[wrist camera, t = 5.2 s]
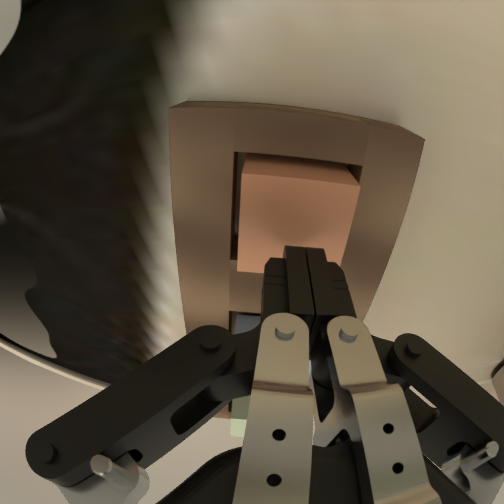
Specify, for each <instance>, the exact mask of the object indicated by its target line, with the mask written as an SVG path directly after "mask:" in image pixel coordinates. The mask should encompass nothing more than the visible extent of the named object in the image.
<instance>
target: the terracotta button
mask: <svg viewBox="0 0 504 504" xmlns="http://www.w3.org/2000/svg"><path fill="white" fill-rule="evenodd" d="M360 187H361V186H360V185H359V183H358V182H357V181H356V179H355V178H354V177H353V175H352V174H351V173H350V171H349V170H348V169H347V167H346V166H345V165H344V163H337V162H330V161H323V160H315V159H307V158H298V157H289V156H279V155H268V154H256V153H247V154H246V158H245V162H244V166H243V170H242V178H241V197H240V217H239V238H238V260H237V271H241V272H253V273H264V267H265V264H266V263H267V261H268V260H269V259H270V257H274V258H283V251H284V246H285V245H289V246H301V247H313V248H323V249H324V250H325V254H326V258H327V262H336V263H337V264H338V265H339V266H340V264H341V261H342V257H343V254H344V250H345V247H346V243H347V239H348V236H349V232H350V228H351V224H352V221H353V217H354V213H355V209H356V204H357V200H358V196H359V192H360Z"/></svg>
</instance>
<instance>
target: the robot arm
mask: <svg viewBox="0 0 504 504" xmlns="http://www.w3.org/2000/svg"><path fill="white" fill-rule="evenodd" d="M348 289H349V288H348V284H347V282H346V278H345V274H344V271H343V270H342V269H341V268H340V266H339V265H338V264H337V263H336V262H327V258H326V254H325V250H324V249H323V248H313V247H301V246H289V245H285V246H284V251H283V258H274V257H270V259H269V260H268V261H267V263H266V264H265V267H264V276H263V285H262V294H261V315H260V323H259V324H258V325H257V326H256V327H255V328H254V329H252V330H250V331H247V332H243V333H238V334H232V333H231V332H230V331H229V330H227V329H226V328H223V327H221V326H218V325H204V326H200V327H198V328H196V329H194V330H193V331H191V332H190V333H188V334H187V335H185V336H184V337H183V338H181V339H180V340H178V341H177V342H175V343H174V344H172V345H171V346H169V347H168V348H166V349H165V350H163V351H162V352H160V353H159V354H157V355H156V356H154V357H153V358H151V359H150V360H148V361H147V362H145V363H144V364H142V365H141V366H139V367H138V368H136V369H135V370H133V371H132V372H130V373H129V374H127V375H126V376H124V377H122V378H121V379H119V380H118V381H116V382H115V383H113V384H112V385H110V386H108V387H107V388H105V389H104V390H102V391H101V392H99V393H98V394H96V395H95V396H93V397H91V398H90V399H88V400H86V401H85V402H83V403H82V404H80V405H78V406H77V407H75V408H74V409H72V410H70V411H69V412H67V413H66V414H64V415H62V416H61V417H59V418H57V419H56V420H54V421H52V422H51V423H49V424H47V425H46V426H44V427H43V428H41V429H39V430H38V431H36V432H34V433H33V434H32V435H31V436H30V438H29V439H28V441H27V444H26V450H25V452H26V458H27V462H28V464H29V466H30V467H31V469H32V470H33V471H34V472H35V473H36V474H38V475H39V476H41V477H43V478H45V479H47V480H49V481H51V482H53V483H54V484H56V485H57V486H58V487H59V489H60V490H61V492H62V493H63V494H64V496H65V498H66V499H67V500H68V502H69V504H137V503H138V501H139V500H140V499H141V498H142V497H143V496H144V495H145V494H146V493H147V491H148V489H149V477H148V474H147V472H146V470H145V469H146V468H147V467H149V466H150V465H151V464H153V463H154V462H156V461H157V460H158V459H160V458H161V457H162V456H164V455H165V454H166V453H168V452H169V451H170V450H172V449H173V448H174V447H176V446H177V445H178V444H180V443H181V442H182V441H183V440H185V439H186V438H187V437H188V436H190V435H191V434H192V433H194V432H195V431H196V430H197V429H199V428H200V427H201V426H202V425H204V424H205V423H206V422H207V421H208V420H209V419H211V418H212V417H213V416H214V415H216V414H217V413H218V412H219V411H220V410H222V409H223V408H224V407H225V406H226V405H227V404H228V403H230V401H231V400H232V399H236V398H240V397H245V396H249V395H251V397H250V404H249V410H248V416H247V422H246V428H245V434H244V440H243V446H242V447H238V448H234V449H231V450H228V451H225V452H223V453H221V454H219V455H217V456H215V457H213V458H212V459H210V460H209V461H207V462H206V463H205V464H204V465H202V466H201V467H200V468H199V469H198V470H197V471H196V472H194V473H193V474H192V475H191V476H190V477H188V478H187V479H186V480H185V481H184V482H183V483H181V484H180V485H179V486H178V487H176V488H175V489H174V490H173V491H171V492H170V493H169V494H168V495H166V496H165V497H164V498H163V499H161V500H160V501H159V502H157V503H156V504H492V502H493V500H494V499H495V497H496V495H497V493H498V491H499V489H500V487H501V485H502V483H503V481H504V366H503V367H502V368H501V369H500V370H499V371H498V372H497V373H496V375H495V376H494V377H493V379H492V383H493V386H494V388H495V391H496V393H497V396H498V399H499V402H498V401H497V400H496V399H495V398H494V397H493V396H492V395H490V394H489V393H488V392H487V391H486V390H485V389H483V388H482V387H481V386H480V385H479V384H477V383H476V382H475V381H474V380H473V379H471V378H470V377H469V376H468V375H467V374H466V373H464V372H463V371H462V370H461V369H459V368H458V367H457V366H456V365H455V364H453V363H452V362H451V361H450V360H449V359H447V358H446V357H445V356H444V355H442V354H441V353H440V352H439V351H437V350H436V349H435V348H434V347H432V346H431V345H430V344H429V343H427V342H426V341H425V340H424V339H422V338H421V337H419V336H417V335H415V334H410V333H405V334H402V335H400V336H398V337H397V338H396V340H395V341H394V342H392V341H389V340H385V339H381V338H378V337H375V336H373V335H371V334H370V332H369V329H368V328H367V326H366V325H365V324H364V323H363V322H362V321H360V320H359V319H357V316H356V312H355V309H354V305H353V302H352V298H351V295H350V291H349V290H348ZM309 360H311V371H310V373H309ZM410 386H413V387H414V388H415V389H416V390H417V391H418V392H419V393H421V394H422V395H423V396H424V397H425V398H426V399H428V400H429V401H430V402H431V403H432V404H433V405H435V406H436V407H437V408H433V407H431V406H429V405H428V404H427V403H426V402H424V401H423V400H422V399H421V398H420V397H419V396H417V395H416V394H415V393H414V392H413V391H412V390H411V389H409V387H410ZM309 388H310V389H309ZM313 414H314V421H315V433H314V438H313V445H312V437H313ZM426 456H427V457H428V458H429V459H430V460H431V461H432V462H434V463H435V464H436V465H437V466H438V467H440V468H441V470H440V469H439V468H438V467H437V466H435V465H434V464H433V463H432V462H431V461H430V460H429V459H428V458H427V457H426Z"/></svg>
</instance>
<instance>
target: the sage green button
mask: <svg viewBox="0 0 504 504" xmlns="http://www.w3.org/2000/svg"><path fill="white" fill-rule="evenodd" d="M250 397H251V395H249V396H245V397H240V398H236V399H233V401H232V411H231V436H237V437H238V436H239V437H244V434H245V428H246V422H247V416H248V410H249V404H250Z"/></svg>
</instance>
